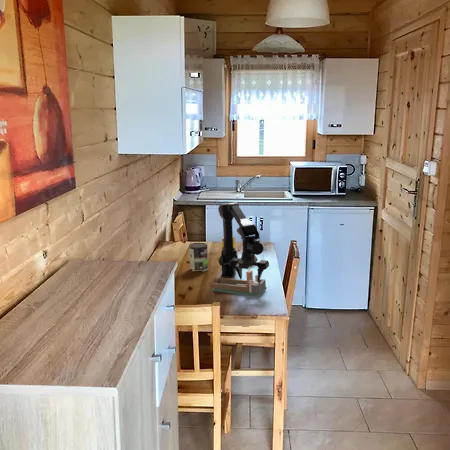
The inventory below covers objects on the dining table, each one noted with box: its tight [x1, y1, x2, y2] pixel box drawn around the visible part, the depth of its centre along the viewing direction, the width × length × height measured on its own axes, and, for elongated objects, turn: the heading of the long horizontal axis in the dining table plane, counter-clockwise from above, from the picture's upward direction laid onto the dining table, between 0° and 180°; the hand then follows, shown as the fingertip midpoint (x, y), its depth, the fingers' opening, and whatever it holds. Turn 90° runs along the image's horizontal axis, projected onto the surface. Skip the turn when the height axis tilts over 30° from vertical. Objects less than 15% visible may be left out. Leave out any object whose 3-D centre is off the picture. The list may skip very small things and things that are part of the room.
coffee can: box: [188, 242, 209, 272], centre depth 274 cm, size 10×10×14 cm
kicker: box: [236, 269, 255, 287], centre depth 239 cm, size 8×6×9 cm
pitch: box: [212, 274, 267, 297], centre depth 240 cm, size 24×11×7 cm, turn 66°
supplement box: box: [221, 236, 236, 250], centre depth 299 cm, size 6×6×11 cm
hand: (249, 280), depth 238 cm, fingers open, 9 cm apart
